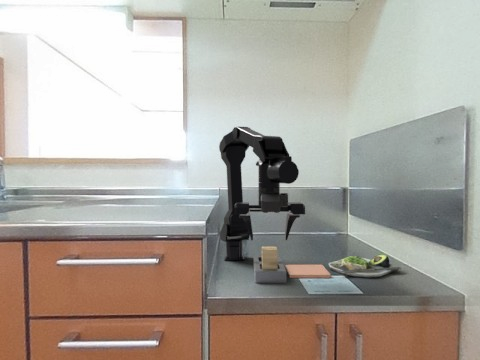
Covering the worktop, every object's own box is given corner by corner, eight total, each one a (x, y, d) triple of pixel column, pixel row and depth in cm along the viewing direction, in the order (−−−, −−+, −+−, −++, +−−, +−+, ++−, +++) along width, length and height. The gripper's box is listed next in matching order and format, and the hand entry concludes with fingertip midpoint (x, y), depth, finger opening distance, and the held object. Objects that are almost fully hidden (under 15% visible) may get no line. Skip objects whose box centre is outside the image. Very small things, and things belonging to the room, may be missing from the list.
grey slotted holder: (253, 265, 114) (253, 255, 114) (279, 265, 114) (279, 255, 114) (255, 282, 96) (255, 271, 96) (286, 282, 96) (286, 271, 96)
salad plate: (368, 285, 95) (369, 267, 94) (314, 271, 108) (314, 255, 108) (407, 272, 107) (407, 256, 107) (353, 261, 121) (353, 246, 120)
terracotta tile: (285, 267, 112) (285, 264, 112) (322, 267, 111) (322, 264, 111) (290, 277, 101) (290, 274, 101) (330, 277, 100) (330, 274, 100)
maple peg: (261, 275, 103) (261, 246, 103) (276, 275, 103) (276, 246, 103) (262, 279, 99) (262, 249, 99) (277, 279, 99) (277, 249, 99)
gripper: (233, 183, 93) (233, 246, 93) (308, 183, 92) (308, 246, 93) (234, 182, 104) (234, 238, 104) (301, 182, 104) (301, 238, 104)
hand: (269, 240), depth 101 cm, fingers open, 9 cm apart
